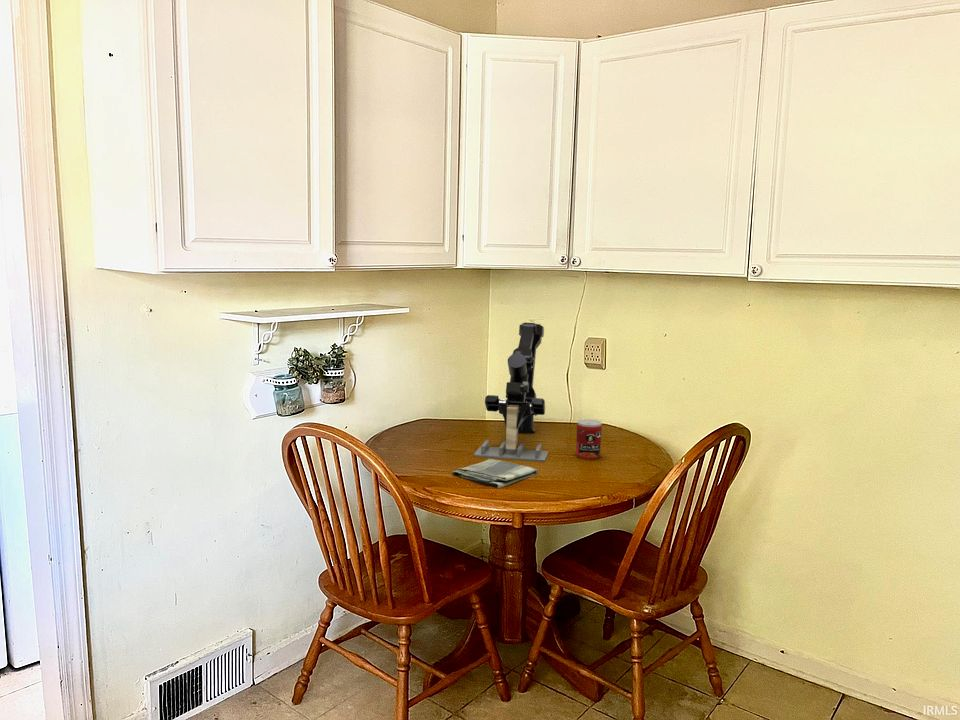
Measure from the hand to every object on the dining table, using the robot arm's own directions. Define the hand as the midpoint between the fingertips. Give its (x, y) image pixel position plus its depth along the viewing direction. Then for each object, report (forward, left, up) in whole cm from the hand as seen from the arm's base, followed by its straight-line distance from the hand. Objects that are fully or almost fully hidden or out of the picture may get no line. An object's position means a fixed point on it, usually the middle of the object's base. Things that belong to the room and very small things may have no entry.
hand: (511, 427), depth 224 cm
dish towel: (+19, -7, -10) cm, 22 cm away
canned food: (0, +24, -9) cm, 26 cm away
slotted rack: (-1, 0, -9) cm, 9 cm away
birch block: (-1, 0, -7) cm, 7 cm away
